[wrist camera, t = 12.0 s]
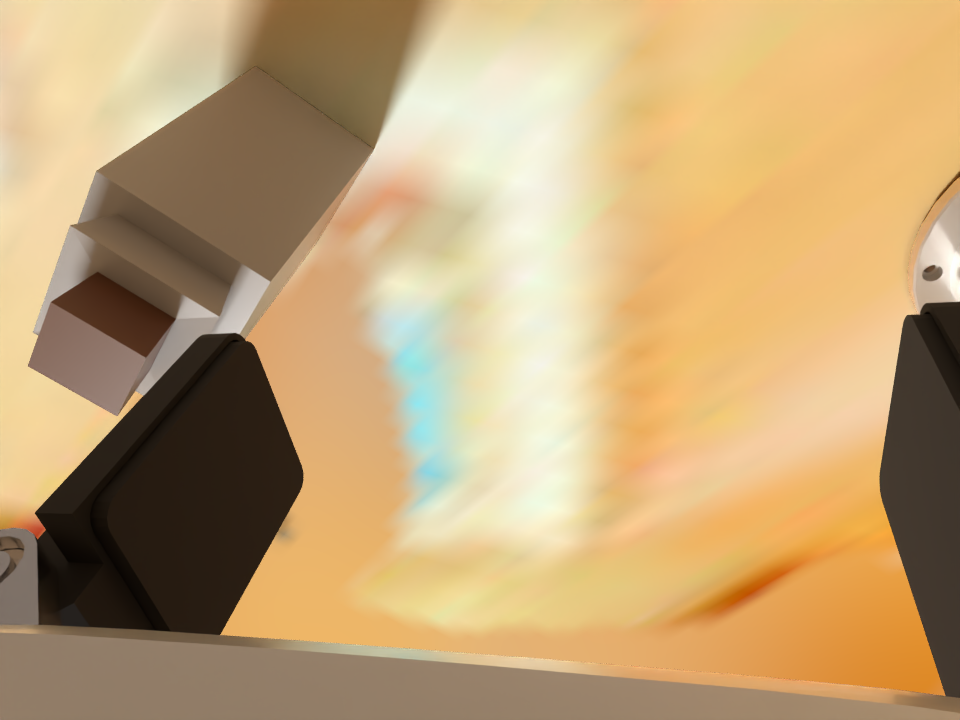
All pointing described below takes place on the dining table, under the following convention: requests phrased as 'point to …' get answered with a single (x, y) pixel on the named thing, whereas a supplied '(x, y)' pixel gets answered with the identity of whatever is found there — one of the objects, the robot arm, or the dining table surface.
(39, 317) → the perfume bottle
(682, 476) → the dining table surface
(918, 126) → the dining table surface
